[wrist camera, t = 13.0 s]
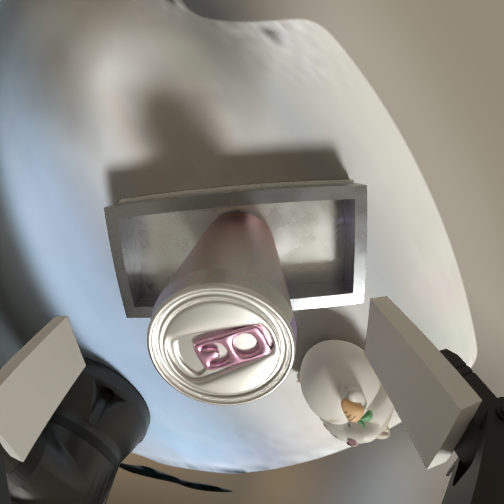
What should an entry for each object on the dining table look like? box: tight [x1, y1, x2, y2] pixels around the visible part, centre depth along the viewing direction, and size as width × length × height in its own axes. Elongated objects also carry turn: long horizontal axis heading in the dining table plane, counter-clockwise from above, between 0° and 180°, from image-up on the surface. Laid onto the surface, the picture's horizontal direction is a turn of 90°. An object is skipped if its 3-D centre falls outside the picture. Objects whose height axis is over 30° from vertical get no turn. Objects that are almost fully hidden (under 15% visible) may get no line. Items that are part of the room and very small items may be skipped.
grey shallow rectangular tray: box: [104, 179, 367, 318], centre depth 24 cm, size 20×10×4 cm, turn 94°
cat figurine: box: [296, 340, 394, 447], centre depth 26 cm, size 10×8×15 cm
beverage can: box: [147, 212, 297, 405], centre depth 17 cm, size 6×6×15 cm
